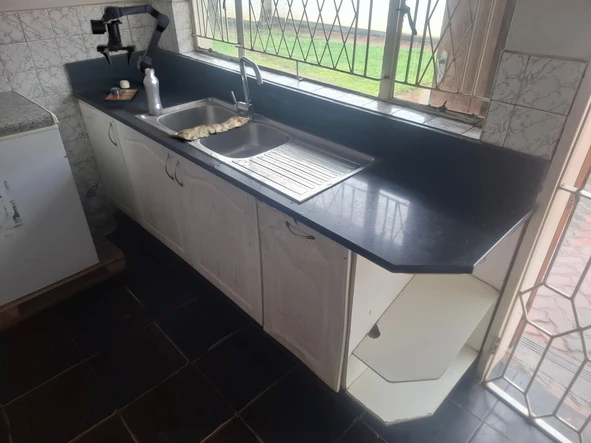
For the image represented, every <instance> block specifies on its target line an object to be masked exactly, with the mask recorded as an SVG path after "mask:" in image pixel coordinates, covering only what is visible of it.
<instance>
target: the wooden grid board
mask: <svg viewBox="0 0 591 443" xmlns="http://www.w3.org/2000/svg"><path fill="white" fill-rule="evenodd" d="M119 89H120V91H121V94H120V95H112V94H111V92H110V93H109V94H108V95H107V96H106V97H105V98H104V101H105V100H108V101H109V100H110V101H111V100H113V101H114V100H117V101H118V100H119V101H120V100H121V101H122V100H123V101H124V100H127V101H129V100H130V101H131V99H132V98H133V97H134V95H135V94H136V92H137V91H138V88H119Z"/></svg>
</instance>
